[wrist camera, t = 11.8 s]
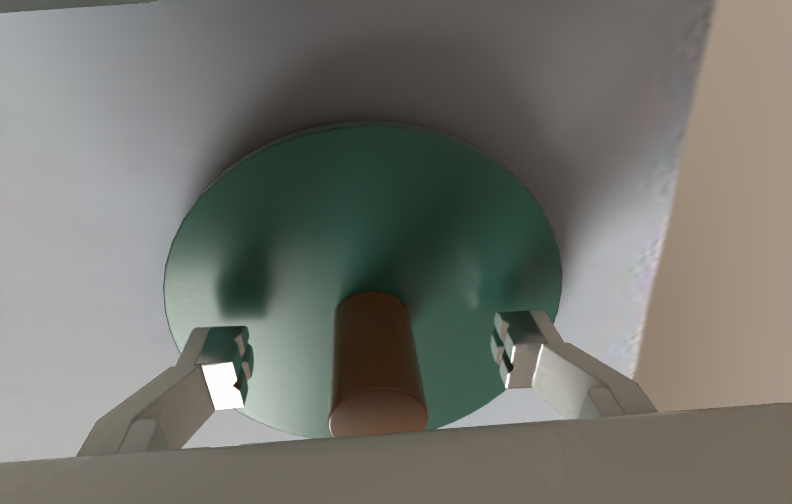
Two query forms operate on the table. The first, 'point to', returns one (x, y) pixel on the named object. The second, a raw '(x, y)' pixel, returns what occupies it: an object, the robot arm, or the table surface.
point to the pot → (58, 4)
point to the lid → (363, 275)
